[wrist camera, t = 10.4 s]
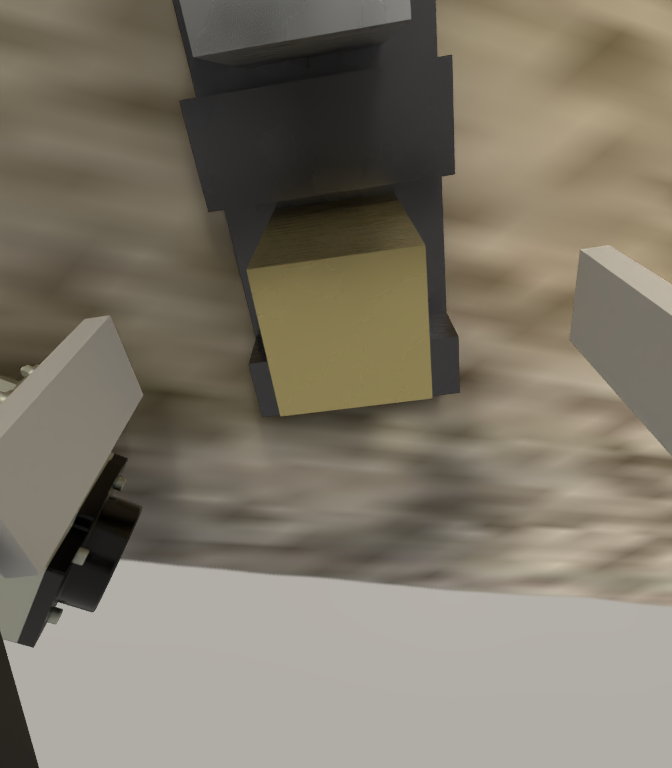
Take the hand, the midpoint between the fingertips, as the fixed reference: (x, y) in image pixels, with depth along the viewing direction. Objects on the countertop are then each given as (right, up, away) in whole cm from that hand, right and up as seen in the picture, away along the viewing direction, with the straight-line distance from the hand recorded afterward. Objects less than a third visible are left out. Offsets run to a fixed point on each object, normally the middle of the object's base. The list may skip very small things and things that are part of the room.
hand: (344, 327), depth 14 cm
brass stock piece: (0, +4, +8) cm, 9 cm away
